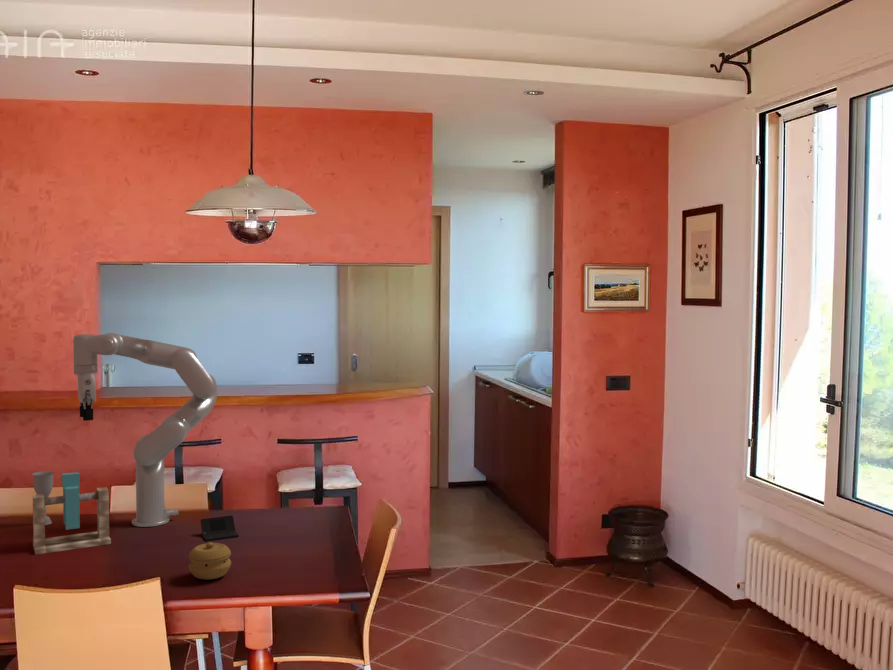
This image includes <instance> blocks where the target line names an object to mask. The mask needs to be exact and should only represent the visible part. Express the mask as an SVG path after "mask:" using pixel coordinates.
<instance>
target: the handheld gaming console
mask: <svg viewBox="0 0 893 670" xmlns="http://www.w3.org/2000/svg"><path fill="white" fill-rule="evenodd" d="M200 527H201V533H202V534H201V535H202V538H203V539H204V541H205V542H206V543H208V542H214V541H221V540H227V539H235V538H239V536H240V535H239V534H238V532H237V531H236V527H235V521H234V516H233V515H226V516H225V515H224V516H217V517H216V516H215V517H209V518H200Z"/></svg>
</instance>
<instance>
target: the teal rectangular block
mask: <svg viewBox="0 0 893 670" xmlns="http://www.w3.org/2000/svg"><path fill="white" fill-rule="evenodd" d="M80 475H81V473H80V472H78V471H77V472H66V473H61V486H62V494H63V495H62V496H65V503H62V505H63V506H62V507H63V524H64V526H65V530H67V531H68V530H74V529H80V528H81V526H80V525H81V524H80V523H81V520H80V519H81V518H80V517H81V516H80V515H81V514H80V501H79V494H80V486H81V483H80V481H81V480H80Z"/></svg>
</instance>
